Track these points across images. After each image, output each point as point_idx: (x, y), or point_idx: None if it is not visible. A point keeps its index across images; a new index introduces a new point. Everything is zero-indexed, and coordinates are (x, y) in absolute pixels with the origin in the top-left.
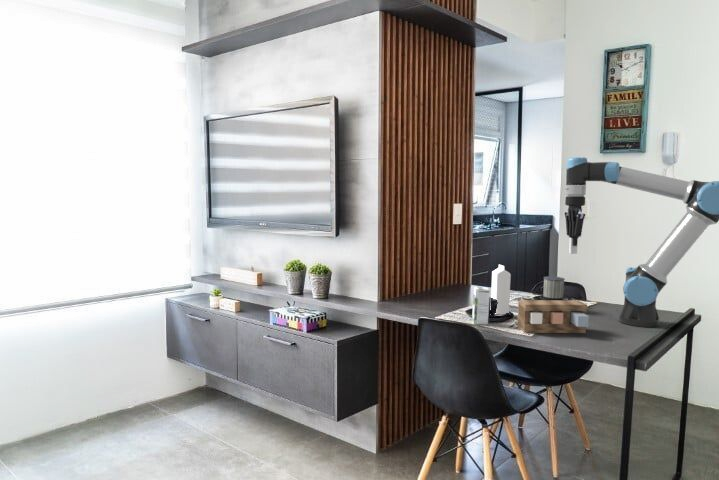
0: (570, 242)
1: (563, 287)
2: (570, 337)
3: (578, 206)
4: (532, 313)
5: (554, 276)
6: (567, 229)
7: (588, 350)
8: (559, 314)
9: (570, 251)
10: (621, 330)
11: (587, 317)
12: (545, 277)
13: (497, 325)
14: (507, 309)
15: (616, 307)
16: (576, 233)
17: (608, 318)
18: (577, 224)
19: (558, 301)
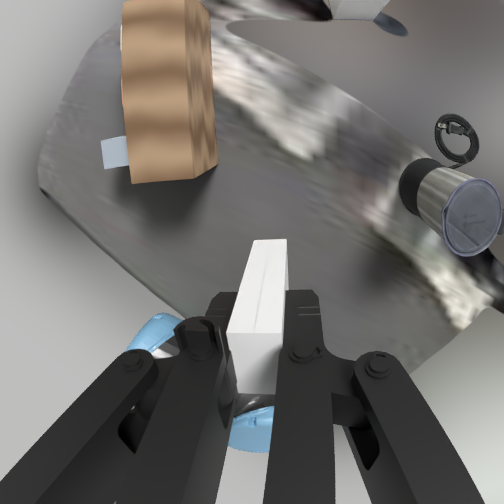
0: (254, 294)
1: (439, 235)
2: None
3: None
4: (121, 26)
5: (495, 236)
6: (398, 431)
7: (58, 134)
8: (122, 95)
9: (256, 247)
10: (203, 264)
11: (105, 164)
12: (487, 189)
13: None
14: (335, 7)
15: (413, 349)
16: (102, 386)
17: (321, 291)
18: (14, 470)
19: (168, 102)
